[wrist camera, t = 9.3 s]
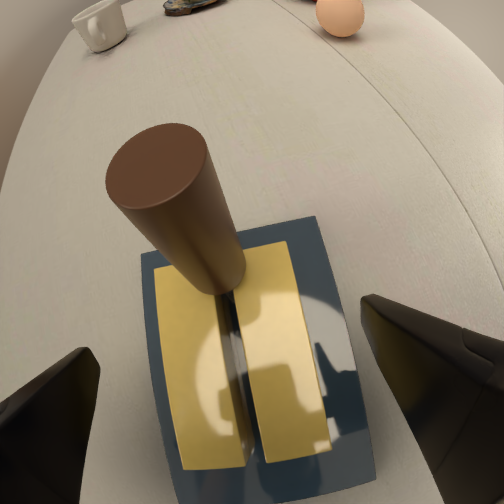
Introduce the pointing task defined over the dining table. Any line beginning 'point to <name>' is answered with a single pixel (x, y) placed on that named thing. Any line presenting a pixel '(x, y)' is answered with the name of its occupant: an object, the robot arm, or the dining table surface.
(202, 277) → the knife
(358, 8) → the egg
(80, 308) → the dining table surface
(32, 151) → the dining table surface
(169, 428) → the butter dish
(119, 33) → the cup
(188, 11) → the burger
